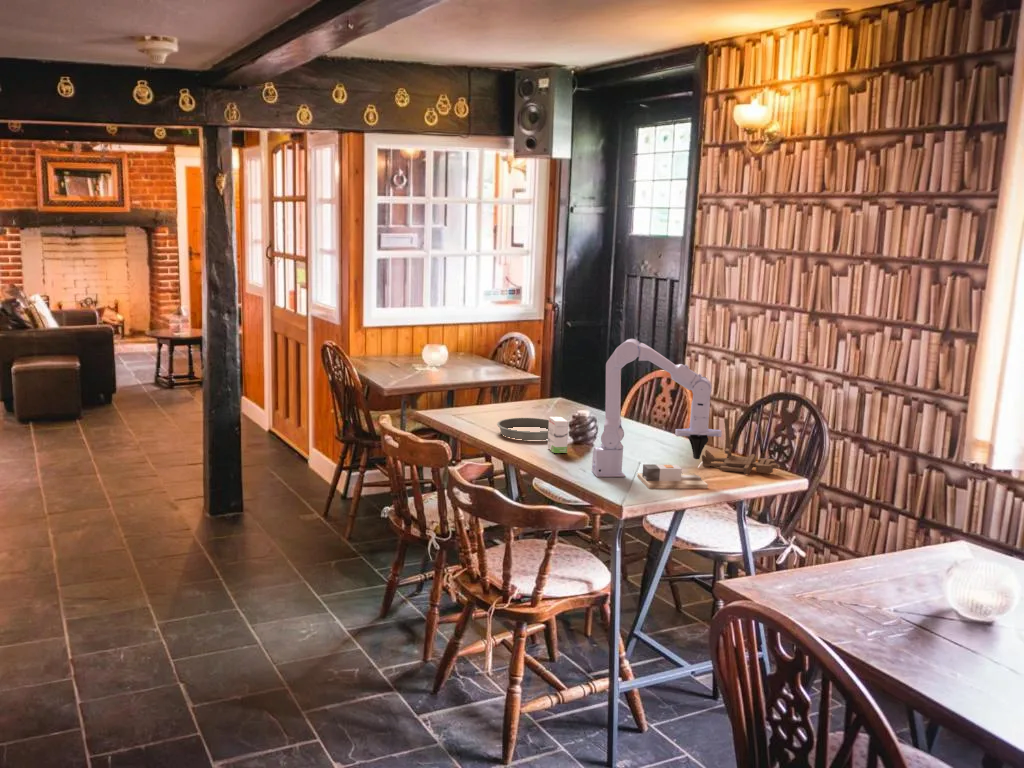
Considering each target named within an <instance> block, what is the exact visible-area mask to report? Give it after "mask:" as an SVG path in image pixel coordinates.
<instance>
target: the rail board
mask: <svg viewBox="0 0 1024 768" xmlns="http://www.w3.org/2000/svg"><path fill="white" fill-rule="evenodd" d="M657 465H658V464H653V463H652V464H651V463H649V464H646V463H645V464H642V472H641V473H640V472H639V473H637V478H638V479H639V480H640V481H641V482H642V483H643V484H644V486H646V487H647V489H709V484H708V483H707V482H706V481H704V480H703V479H702V477H701V476H700V475H699V474H696V473H689V472H688V473H687V472H685V473H684V472H683V473H682V474H681V481H659V476H660V468H659V467H658V466H657Z"/></svg>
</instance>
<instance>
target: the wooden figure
mask: <svg viewBox="0 0 1024 768" xmlns="http://www.w3.org/2000/svg"><path fill="white" fill-rule="evenodd" d="M723 422H724V432H725V443H726V448H725V450H724V454H726V455H727V456H726V457H715V456H714V455H713V454H712V453H711V452H710V451H709V450H708V449H705V451H704V453H705V454H701V460H702V461H701V462H700V463H699V464H698V466H697V469H699V468H700V467H701V466H702V467H706V466H711V468H712V467H713V468H715V467H716V468H719V470H724V471H723V472H735V473H743V475H744V474H749V475H750V473H751V472H752V470H753V468H755V472H756V473H761V474H762V473H763V474H772V473H774V469H779V468H780V465H779V464H778V463H776V461H775V459H773V458H765V457H764V458H763V457H762V458H758V460H756V454H754V453H751V454H750V456H749V457H748V456H736V455H735V454H733V453H732V450H733V447H734V445H733V443H732V444H731V433H730V423H729V422H730V421H729V417H727V416H725V417H723ZM732 454H733V455H732ZM756 461H758V462H756Z"/></svg>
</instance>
